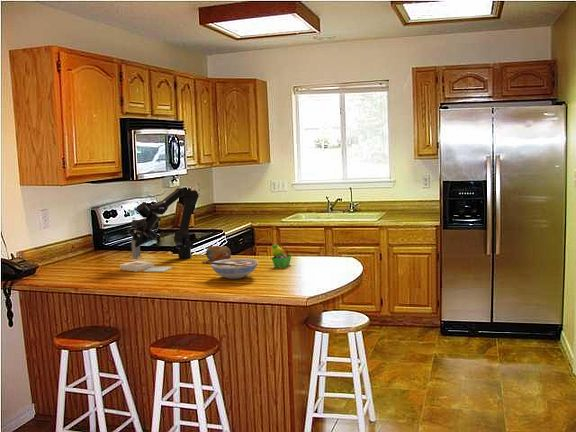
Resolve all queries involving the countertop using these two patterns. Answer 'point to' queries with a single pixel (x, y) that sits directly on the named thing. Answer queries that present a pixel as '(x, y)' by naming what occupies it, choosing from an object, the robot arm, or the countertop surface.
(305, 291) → the countertop surface
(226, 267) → the ramen bowl
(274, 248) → the fruit basket
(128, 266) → the cover plate
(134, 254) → the t key
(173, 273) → the countertop surface
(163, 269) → the key mat
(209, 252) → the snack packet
